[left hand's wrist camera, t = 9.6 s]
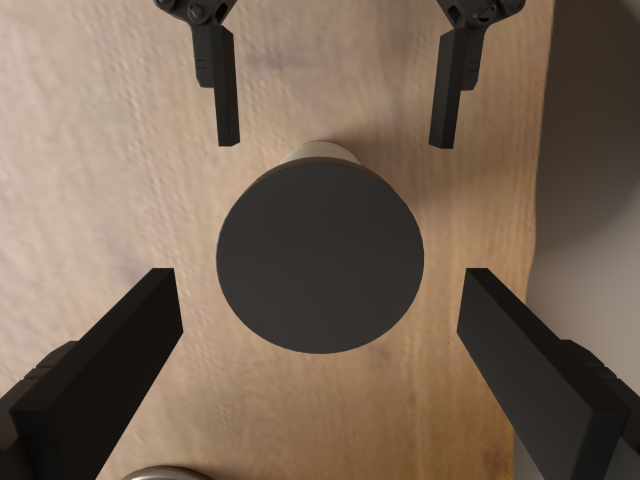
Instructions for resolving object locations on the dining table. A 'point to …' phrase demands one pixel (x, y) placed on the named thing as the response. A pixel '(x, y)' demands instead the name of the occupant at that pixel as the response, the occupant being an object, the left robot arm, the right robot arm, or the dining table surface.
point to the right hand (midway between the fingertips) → (335, 146)
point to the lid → (320, 256)
